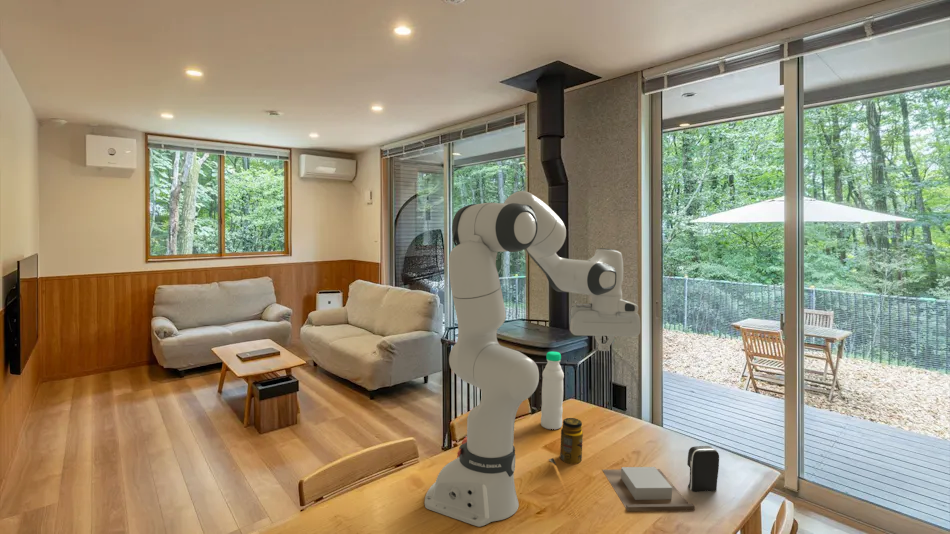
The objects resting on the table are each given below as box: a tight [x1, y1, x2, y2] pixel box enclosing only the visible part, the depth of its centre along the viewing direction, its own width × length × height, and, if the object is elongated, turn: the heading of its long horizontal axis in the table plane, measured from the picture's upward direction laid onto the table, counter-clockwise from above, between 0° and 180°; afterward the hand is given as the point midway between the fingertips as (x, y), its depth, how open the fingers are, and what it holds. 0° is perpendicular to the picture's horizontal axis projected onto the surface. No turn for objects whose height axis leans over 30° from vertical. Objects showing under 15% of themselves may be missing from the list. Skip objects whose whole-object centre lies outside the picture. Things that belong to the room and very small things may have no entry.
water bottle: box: [540, 351, 565, 431], centre depth 160 cm, size 7×7×25 cm
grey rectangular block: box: [620, 466, 672, 500], centre depth 122 cm, size 9×3×10 cm
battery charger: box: [687, 445, 720, 493], centre depth 123 cm, size 7×4×11 cm, turn 96°
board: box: [602, 468, 696, 512], centre depth 122 cm, size 19×16×2 cm
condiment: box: [548, 417, 584, 466], centre depth 136 cm, size 7×8×12 cm
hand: (603, 350), depth 142 cm, fingers closed
